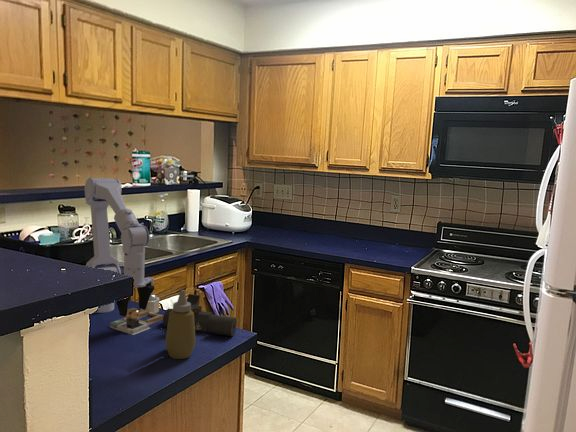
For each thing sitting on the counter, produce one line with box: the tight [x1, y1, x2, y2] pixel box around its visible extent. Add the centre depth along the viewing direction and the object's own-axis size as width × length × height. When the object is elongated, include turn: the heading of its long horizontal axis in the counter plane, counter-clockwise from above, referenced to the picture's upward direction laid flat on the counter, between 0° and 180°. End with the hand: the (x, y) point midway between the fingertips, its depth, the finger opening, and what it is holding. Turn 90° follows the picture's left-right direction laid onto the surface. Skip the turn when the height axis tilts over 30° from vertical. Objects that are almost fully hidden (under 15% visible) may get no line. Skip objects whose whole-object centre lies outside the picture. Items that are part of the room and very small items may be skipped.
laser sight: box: [162, 293, 238, 337], centre depth 145 cm, size 10×22×10 cm, turn 80°
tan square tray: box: [139, 310, 164, 326], centre depth 150 cm, size 7×8×2 cm
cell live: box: [125, 307, 140, 329], centre depth 141 cm, size 4×4×6 cm
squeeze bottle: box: [164, 289, 197, 360], centre depth 127 cm, size 8×8×18 cm
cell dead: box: [148, 292, 157, 301], centre depth 157 cm, size 4×4×6 cm
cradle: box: [109, 316, 151, 336], centre depth 142 cm, size 10×7×2 cm
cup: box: [139, 296, 160, 314], centre depth 158 cm, size 6×6×5 cm
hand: (133, 312), depth 141 cm, fingers open, 7 cm apart
